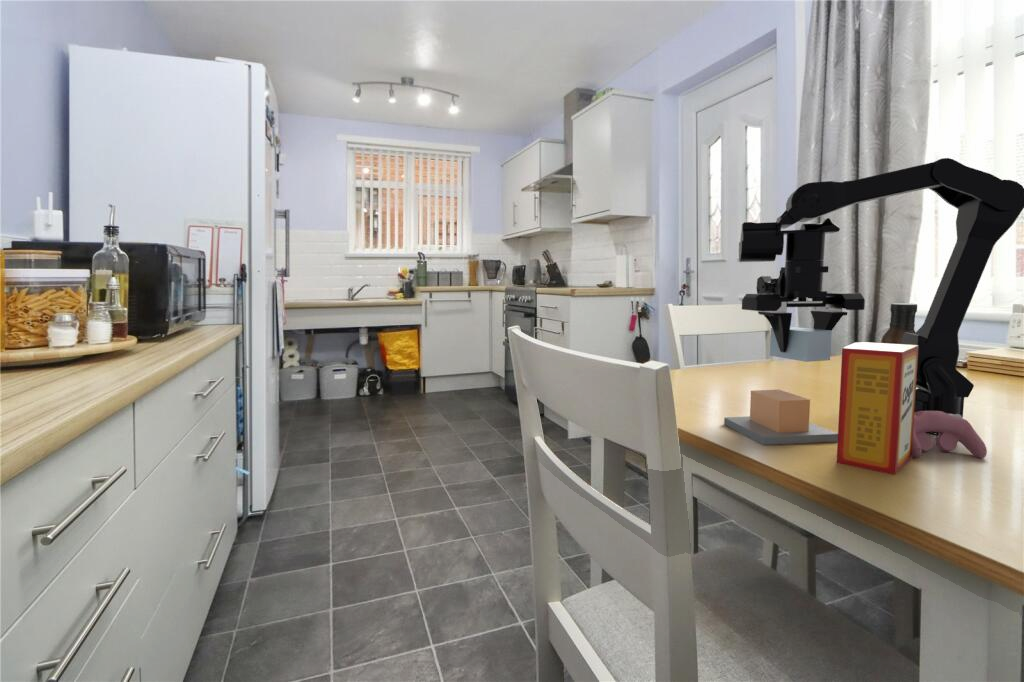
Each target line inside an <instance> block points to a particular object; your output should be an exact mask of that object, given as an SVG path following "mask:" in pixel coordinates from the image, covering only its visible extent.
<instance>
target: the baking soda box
mask: <svg viewBox="0 0 1024 682" xmlns="http://www.w3.org/2000/svg"><path fill="white" fill-rule="evenodd" d="M918 347H919V345H906V344H889V343H881V342H871V341H870V342H867V341H861V342H853V343H851V344H848V345H846V346H844V347H842V348H841V351H842V352H841V367H840V368H841V369H840V384H839V387H840V389H839V408H838V409H839V410H838V412H839V413H838V427H837V433H838V442H837V448H836V450H837V451H836V464H837V463H838V464H841V465H844V466H845V465H846V466H850V467H851V466H852V467H856V468H860V469H864V470H870V471H875V472H880V473H885V474H890V475H895V476H896V474H897V473H898V472H899V471H900V470H901V469H902V468H903V467H904V466H905V465H906V464H907V462H908V461H910V459H911V458H912V456H911V454H912V439H913V424H914V408H915V393H916V389H917V387H916V378H917V362H918Z"/></svg>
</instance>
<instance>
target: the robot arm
mask: <svg viewBox="0 0 1024 682" xmlns="http://www.w3.org/2000/svg"><path fill="white" fill-rule="evenodd" d="M925 189H927V190H930V191H933V192H934V193H935V194H936V195H937V196H939V197H940V198H941V199H942V200H943V201H944V202H945V203H947V204H948V205H950V206H951V207H954V208H956V209H957V215H956V221H955V228H956V229H955V230H956V242H955V244H954V247H953V249H952V252H951V255H950V257H949V260H948V262H947V264H946V267H945V269H944V272H943V275H942V277H941V280H940V282H939V285H938V287H937V289H936V292H935V295H934V297H933V300H932V302H931V304H930V306H929V309H928V312H927V315H926V317H925V319H924V322H923V324H922V325H921V326H920V327H919V329H917V331H915V332H916V333H915V334H912V333H908V332H905V333H904V334H903V337H902V343H901V344H906V345H919V347H918V362H917V378H916V393H915V408H914V412H919V411H942V412H944V413H948V414H959V415H961V416H962V418H963V417H964V407H965V406H964V405H965V398H969V396H970V394H971V393H972V391H973V389H974V387H975V386H974V385H975V384H974V383H973V382H971V381H970V380H969V379H968V378H967V377H965V376H964V374H962V373H961V372H960V371H959V370H958V369H957V366H958V365H957V364H958V361H959V356H960V346H959V342H960V341H959V331H960V328H961V326H962V324H963V321H964V319H965V317H966V314H967V311H968V309H969V306H970V304H971V302H972V299H973V297H974V295H975V292H976V290H977V288H978V284H979V282H980V280H981V278H982V276H983V273H984V271H985V268H986V266H987V264H988V261H989V258H990V257H991V253H992V251H993V249H994V247H995V246H996V243H997V242H998V241H999V240H1000V239H1001V238H1002V237H1003V236H1004V235H1005V234H1006V233H1007V232H1008V230H1010V229H1011V227H1012V226H1013V225H1014V224H1015V222H1016V221H1017V219H1018V217H1019V216H1020V214H1021V213H1022V212H1023V210H1024V186H1023V185H1021V183H1020V182H1018V181H1015V180H1012V179H1001V178H999V177H998V176H995V175H994V174H992V173H990V172H986V171H983V170H980V169H977V168H973V167H970V166H966V165H965V164H963V163H961V162H959V161H957V160H955V159H953V158H949V157H945V158H944V157H941V158H938V159H937V160H935V161H932V162H927V163H925V164H924V163H923V164H919V165H915V166H910V167H907V168H901V169H897V170H893V171H890V172H889V171H888V172H885V173H881V174H875V175H872V176H867V177H863V178H859V179H854V180H844V181H843V180H830V181H829V180H826V181H816V182H815V181H814V182H807V183H804V184H802V185H800V186H799V187H798V188H796V189H795V190H794V191H793V192H792V193H791V194H790V195H789V197H788V198H787V200H786V203H785V210H784V212H783V213H782V214H781V215H780V216H778V217H777V218H776V222H770V221H769V222H753V221H752V222H751V221H745V222H742V224H741V232H740V241H739V242H738V262H739V263H752V262H753V263H755V262H757V263H758V262H775V261H776V258H777V256H783V254H784V253H783V252H784V247H785V260H784V261H785V264H784V265H785V266H784V267H780V270H779V275H778V277H777V278H773V277H771V276H769V275H768V276H766V275H765V276H764V275H762V276H759V277H758V278H757V280H756V293H746V294H745V295H744V296H743V298H742V300H741V310H744V311H752V312H753V311H754V312H757V313H758V315H760V316H761V315H762V316H764V318H766V320H767V321H768V322H769V325H770V327H771V328H772V329H773V331H774V334H775V337H776V340H777V343H778V346H779V349H780V351H781V352H786V349H787V346H788V340H789V332H790V327H791V325H792V324H791V323H792V317H793V316H792V315H793V313H792V312H787V311H788V310H787V308H815V310H810V314H811V316H812V319H813V329H821V330H831V331H833V330H834V328H835V326H836V325H837V324H838V323H839V322H840V320H841V319H842V318H843V316H847V315H848V312H847V311H863V310H865V306H866V305H865V304H866V299H865V298H864V295H862V293H861V292H857V293H856V292H828V291H827V290H826V291H825V290H823V282H824V281H823V280H824V273H829V266H828V265H827V266H826V265H825V266H824V262H825V261H824V260H825V245H826V244H825V241H826V235H827V234H835V233H838V232H840V230H841V228H840V227H839V226H838V225H837V224H835V223H834V222H833V221H832V220H831V218H830V217H828V218H825V219H824V220H823V221H822V222H821V223H820V222H819V223H806V222H810V221H812V220H815V219H818V218H820V217H823V216H826V215H828V214H830V213H833V212H836V211H839V210H841V209H843V208H846V207H849V206H852V205H856V204H861V203H865V202H866V203H867V202H871V201H872V202H873V201H876V200H880V199H884V198H885V199H886V198H889V197H895V196H898V195H904V194H909V193H912V192H918V191H922V190H925ZM798 222H800V223H801V226H800V228H799V229H789V230H784V229H788V228H789V227H791V226H793V225H795V224H796V223H798ZM804 222H805V223H804ZM782 229H783V230H782ZM785 236H786V239H784V238H785ZM784 240H786V241H784ZM785 242H786V244H785ZM784 245H785V246H784ZM807 299H812V300H807ZM843 309H845V310H846V311H843ZM963 419H964V418H963ZM930 433H931V434H933V435H938V432H929V434H930Z"/></svg>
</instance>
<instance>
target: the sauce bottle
mask: <svg viewBox="0 0 1024 682" xmlns="http://www.w3.org/2000/svg"><path fill="white" fill-rule="evenodd" d="M889 311H890V323H889V328H888V329H887V330H886V332H885V333H884V334H883V335H882V337H881V341H880V343H889V344H901V343H902V337H903V334H904V333H905V332H908V333H912V334H915V333H916V332H917V331H916V330H915V324H916V323H915V321H916V313H917V312H918V304H917V303H913V302H912V303H910V302H909V303H907V302H906V303H904V302H903V303H902V302H901V303H900V302H897V303H896V302H894V303H891V304H890V310H889Z"/></svg>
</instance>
